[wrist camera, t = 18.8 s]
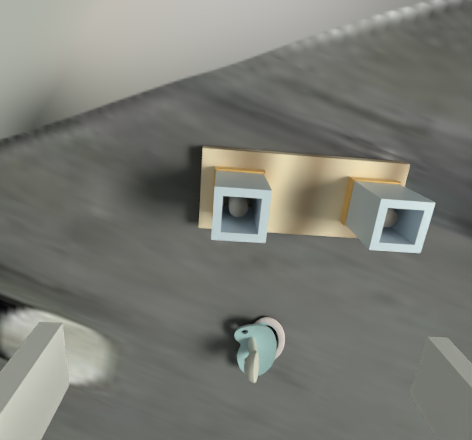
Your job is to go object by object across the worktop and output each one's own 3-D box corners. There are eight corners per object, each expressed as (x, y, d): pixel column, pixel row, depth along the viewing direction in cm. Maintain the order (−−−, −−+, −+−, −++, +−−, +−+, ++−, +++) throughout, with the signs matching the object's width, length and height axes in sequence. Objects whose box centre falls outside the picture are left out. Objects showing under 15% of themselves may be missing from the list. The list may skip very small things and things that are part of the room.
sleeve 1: (212, 212, 34) (209, 241, 27) (215, 165, 32) (212, 184, 26) (258, 215, 34) (267, 244, 28) (264, 169, 32) (274, 188, 26)
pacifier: (282, 309, 40) (232, 315, 40) (294, 345, 34) (235, 352, 34) (285, 357, 43) (237, 363, 43) (296, 399, 37) (241, 406, 37)
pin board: (199, 222, 36) (194, 248, 30) (203, 145, 33) (198, 157, 27) (384, 234, 37) (415, 262, 31) (402, 161, 34) (441, 176, 28)
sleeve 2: (339, 221, 35) (366, 251, 28) (348, 176, 33) (379, 196, 26) (384, 224, 35) (421, 254, 28) (395, 179, 33) (437, 201, 27)
